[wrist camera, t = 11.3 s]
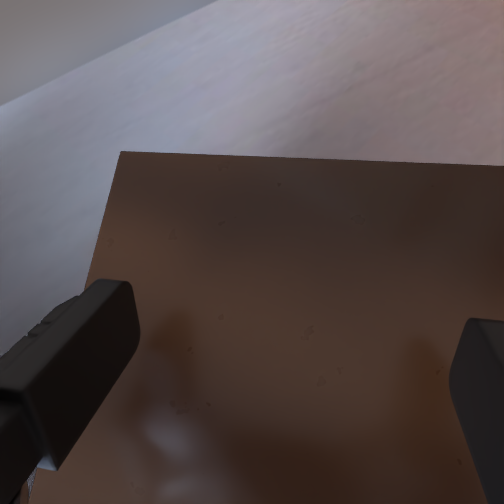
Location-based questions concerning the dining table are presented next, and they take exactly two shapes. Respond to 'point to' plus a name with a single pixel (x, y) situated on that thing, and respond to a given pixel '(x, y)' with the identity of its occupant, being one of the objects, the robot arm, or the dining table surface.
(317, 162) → the lid
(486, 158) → the dining table surface
